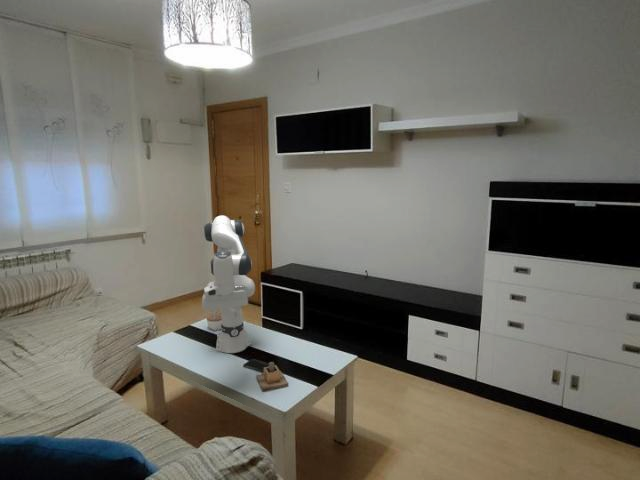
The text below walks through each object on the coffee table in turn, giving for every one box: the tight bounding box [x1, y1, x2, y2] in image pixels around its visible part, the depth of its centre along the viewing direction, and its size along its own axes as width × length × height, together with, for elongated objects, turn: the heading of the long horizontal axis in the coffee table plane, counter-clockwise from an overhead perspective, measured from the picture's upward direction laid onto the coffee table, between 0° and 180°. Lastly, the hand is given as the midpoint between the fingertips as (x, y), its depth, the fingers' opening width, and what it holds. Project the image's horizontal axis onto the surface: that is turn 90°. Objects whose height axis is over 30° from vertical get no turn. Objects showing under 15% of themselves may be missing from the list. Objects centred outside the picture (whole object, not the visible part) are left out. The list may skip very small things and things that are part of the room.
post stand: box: [255, 361, 289, 393], centre depth 181 cm, size 12×12×10 cm
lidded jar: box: [206, 312, 222, 331], centre depth 241 cm, size 11×11×9 cm
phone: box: [242, 358, 269, 374], centre depth 196 cm, size 8×1×15 cm
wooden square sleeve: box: [263, 364, 280, 384], centre depth 181 cm, size 6×6×5 cm
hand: (226, 317), depth 178 cm, fingers open, 8 cm apart
